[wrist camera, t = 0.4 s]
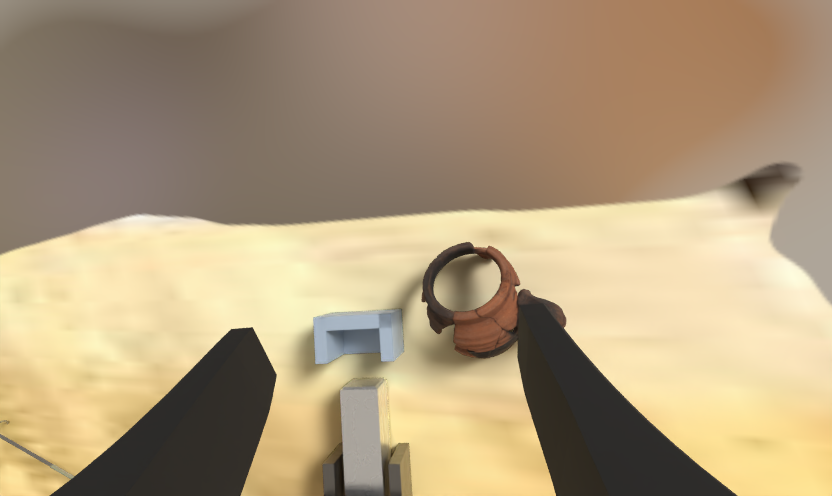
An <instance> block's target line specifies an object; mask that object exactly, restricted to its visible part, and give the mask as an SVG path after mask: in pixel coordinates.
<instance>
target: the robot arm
mask: <svg viewBox="0 0 832 496" xmlns="http://www.w3.org/2000/svg"><path fill="white" fill-rule="evenodd" d="M517 357H518V363H519V368H520V373H521V378H522V383H523V388H524V392H525V396H526V399H527V403H528V406H529V409H530V412H531V416H532V419H533V422H534V425H535V428H536V431H537V435H538V438H539V441H540V444H541V447H542V450H543V454H544V457H545V460H546V463H547V466H548V469H549V472H550V476H551V479H552V482H553V486H554V489H555V493H556V496H737V495H736V494H735V493H733V492H732V491H731V490H730V489H728V488H727V487H726V486H724V485H723V484H722V483H721V482H719V481H718V480H717V479H716V478H714V477H713V476H712V475H711V474H709V473H708V472H707V471H706V470H704V469H703V468H702V467H700V466H699V465H698V464H697V463H696V462H695V461H693V460H692V459H691V458H690V457H689V456H688V455H686V454H685V453H684V452H683V451H682V450H681V449H679V448H678V447H677V446H676V445H675V444H674V443H672V442H671V441H670V440H669V439H668V438H667V437H666V436H665V435H664V434H662V433H661V432H660V431H659V430H658V429H657V428H656V427H655V426H654V425H653V424H651V423H650V422H649V421H648V420H647V419H646V418H645V417H644V416H643V415H642V414H641V413H640V412H639V411H638V410H637V409H636V408H635V407H634V406H633V405H632V404H631V403H630V402H629V401H628V400H627V399H626V398H625V397H624V396H623V395H622V394H621V393H620V392H619V391H618V390H617V389H616V388H615V387H614V386H613V385H612V384H611V383H610V382H609V381H608V379H607V378H606V377H605V376H604V375H603V374H602V373H601V372H600V371H599V370H598V368H597V367H596V366H595V365H594V364H593V363H592V362H591V361H590V359H589V358H588V357H587V356H586V355H585V354H584V353H583V351H582V350H581V349H580V348H579V347H578V346H577V344H576V343H575V342H574V341H573V339H572V338H571V337H570V336H569V334H568V333H567V332H566V331H565V329H564V328H563V327H562V326H561V324H560V323H559V322H558V320H557V319H556V318H555V316H554V315H553V314H552V312H551V311H550V309H549V308H548V307H547V306H546V305H545V304H544V303H539V304H527V305H519V329H518V356H517ZM276 376H277V375H276V373H275V371H274V369H273V367H272V365H271V363H270V361H269V359H268V357H267V355H266V353H265V351H264V349H263V347H262V345H261V343H260V341H259V339H258V337H257V335H256V333H255V331H254V329H253V327H251V328H239V329H231V330H230V331H229V332H228V333H227V334H226V335H225V336H224V337H223V338H222V339H221V340H220V341H219V342H218V343H217V344H216V345H215V346H214V347H213V348H212V349H211V350H210V351H209V352H208V353H207V354H206V355H205V356H204V357H203V358H202V359H201V360H200V361H199V362H198V363H197V364H196V365H195V366H194V367H193V368H192V369H191V370H190V371H189V372H188V373H187V374H186V375H185V376H184V377H183V378H182V379H181V380H180V381H179V382H178V384H177V385H176V386H175V387H174V388H173V389H172V390H171V391H170V392H169V393H168V394H167V395H166V396H165V397H164V398H162V399H161V400H160V401H159V402H158V403H157V404H156V405H155V406H154V407H153V408H152V409H151V410H150V411H149V412H148V413H147V414H146V415H144V416H143V417H142V418H141V419H140V420H139V421H138V422H137V423H136V424H135V425H134V426H133V427H132V428H131V429H130V430H129V431H128V432H126V433H125V434H124V435H123V436H122V437H121V438H120V439H119V440H118V441H116V442H115V443H114V444H113V445H112V446H111V447H109V448H108V449H107V450H106V451H105V452H104V453H103V454H101V455H100V456H99V457H98V458H97V459H95V460H94V461H93V462H92V463H91V464H89V465H88V466H87V467H86V468H85V469H83V470H82V471H81V472H80V473H78V474H77V475H76V476H75V477H73V478H72V479H71V480H70V481H68V482H67V483H66V484H65V485H63V486H62V487H61V488H59V489H58V490H57V491H55V492H54V493H53V494H51V495H50V496H240V495H241V493H242V490H243V487H244V484H245V481H246V478H247V475H248V472H249V469H250V467H251V464H252V461H253V458H254V455H255V452H256V449H257V446H258V444H259V441H260V438H261V435H262V432H263V429H264V426H265V423H266V420H267V417H268V414H269V410H270V406H271V401H272V397H273V392H274V387H275V381H276Z"/></svg>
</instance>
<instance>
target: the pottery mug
mask: <svg viewBox="0 0 832 496" xmlns="http://www.w3.org/2000/svg"><path fill="white" fill-rule="evenodd" d="M467 254H478V255H479V256H481V257H482V258H485V259H492V260H494V261H495V262H496V264H497V265H498V267H499V269H500V272H501V284H500V287H499V289H498V291H497V293H496V294H495V296H494V297H493V298H492V299H491V300H490V301H489V302H487V303H486V304H485V305H483V306H481V307H479V308H477V309H475V310H471V311H465V312H459V311H454V312H453V311H451V310H448V309H446V308H444V307H443V306H442V305H440V303H439V302H438V301H437V300H436V298H435V296H434V292H433V287H434V281H435V278H436V276H437V274H438V273H439V271H440V270H441V269H442V268H443V267H444V266H445V265H446V264H447V263H449V262H450V261H451V260H453V259H455V258H457V257H460V256H463V255H467ZM519 285H520V281H519V279H518V276H517V274H516V272H515V270H514V268H513V267H512V265H511V264H510V263H509V262H508V260H507V259H506V258H505V257H504V255H503V254H502V253H501V252H500V251H498V250H497V249H495V248H493V247H492V246H488V248H480V247H474V246H473V245H472V243H470V242H465V243H461V244H457V245H455V246H452V247H450V248H448V249H446V250H444V251H443V252H442V253H441V254H439V255H438V256H437V258H436V259H434V260H433V261H432V263H430V265H429V267H428V269H427V271H426V272H425V275H424V279H423V292H422V302H425V301H426V302H427V304H428V306H427V315H428V318H429V320H430V327H431V328H432V329H433V330H434V331H435V332H436V333H437V334H440V333H441V332H442V329H444V328H445V327H447V326H449V325H452V324H455V328H454V340H453V342H454V343H455V344H456V346H455V350H456V351H457V352H459V353H461V354H463V355H466V356H470V357H476V358H490V357H494V356H497V355H499V354H501V353H503V352H505V351H506V350H508V349H509V348H510V347H511V346H512V345H513V344H514V343H515V342H516V341H517V340H518V329H519V305H527V304H539V303H544V304H545V305H546V306H547V307H548V308H549V309H550V311H551V312H552V314H553V315H554V316H555V318H556V319H557V320H558V322H559V323H560V324H561V326H562V327H563V328H564V327H565V326H566V317H565V315H564V313H563V311H562V309H561V308H560V307H559V306H558V305H557V304H555V303H553V302H550V301H547V300H545V299H541V298H537V297H535V296H533V295H532V294H531V293H530V291H529V290H525V289H522V290H521V291H520V292H519V293H518V296H517V292H516V290H515V286H519ZM512 329H514V330H513V332H510V331H509V330H512Z"/></svg>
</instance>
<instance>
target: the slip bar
mask: <svg viewBox="0 0 832 496" xmlns="http://www.w3.org/2000/svg"><path fill="white" fill-rule="evenodd" d="M340 402H341V422H342V442H343V462H344V481H345V496H390V485H389V468H388V464H389V461H390V459H391V444H390V427H389V411H388V394H387V379H384V378H356V379H352V380H351V381H350V382H349V383H347V384H346V385H345V386H344V387H343V388H342V389H341V390H340Z"/></svg>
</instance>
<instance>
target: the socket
mask: <svg viewBox="0 0 832 496" xmlns="http://www.w3.org/2000/svg"><path fill="white" fill-rule="evenodd" d="M313 321H314V343H315V364H327V363H329V362H331V361H333V360H334V359H336V358H338V357H340V356H341V355H343V354H354V353H380V352H381V362H383V361H395V360H396V359H397V358H398V357H399V356H400V355H401V354H402V353H403V352H404V341H403V326H402V310H401V309H392V310H374V311H356V312H339V313H330V314H326V315H322V316H318V317H314V318H313Z"/></svg>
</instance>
